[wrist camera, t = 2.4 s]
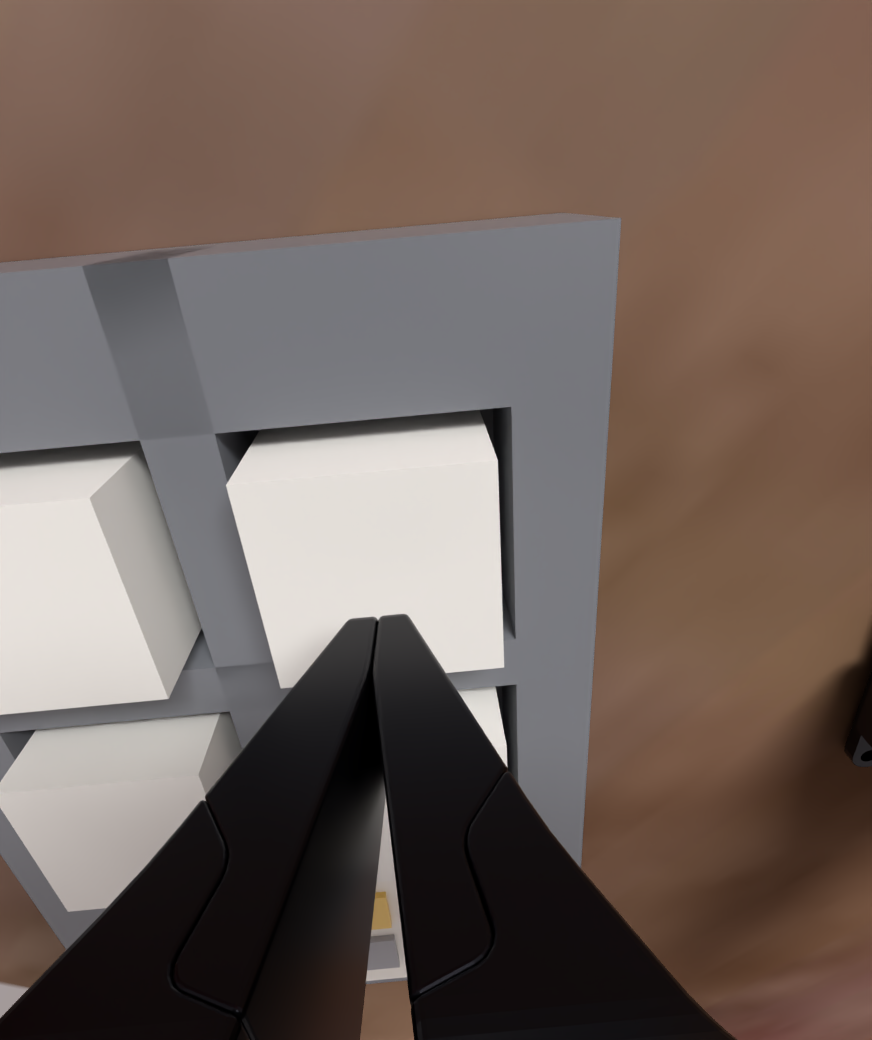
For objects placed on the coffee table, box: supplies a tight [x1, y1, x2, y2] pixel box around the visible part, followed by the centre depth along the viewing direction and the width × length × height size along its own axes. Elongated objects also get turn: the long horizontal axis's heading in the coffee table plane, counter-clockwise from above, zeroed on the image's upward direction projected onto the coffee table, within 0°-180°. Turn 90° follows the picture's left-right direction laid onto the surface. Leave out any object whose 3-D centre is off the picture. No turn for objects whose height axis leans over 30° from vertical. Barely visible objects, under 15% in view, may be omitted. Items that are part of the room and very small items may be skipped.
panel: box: [0, 213, 621, 984], centre depth 15 cm, size 14×20×4 cm
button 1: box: [0, 440, 202, 715], centre depth 11 cm, size 4×4×2 cm
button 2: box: [0, 711, 242, 912], centre depth 14 cm, size 4×4×2 cm
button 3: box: [226, 410, 504, 688], centre depth 11 cm, size 4×4×2 cm
